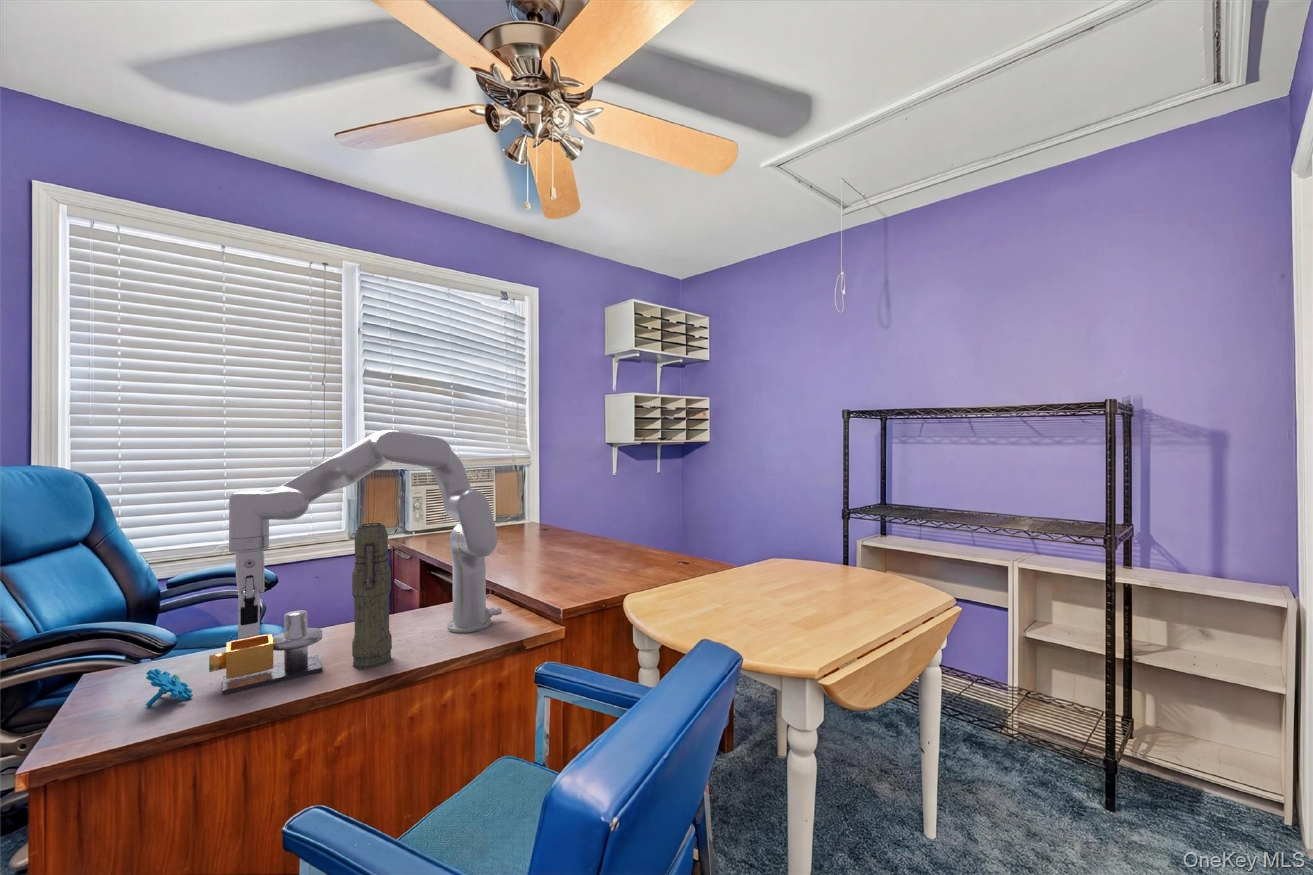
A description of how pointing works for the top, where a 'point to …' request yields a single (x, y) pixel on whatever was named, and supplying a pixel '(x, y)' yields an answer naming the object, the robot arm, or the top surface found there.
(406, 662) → the top surface
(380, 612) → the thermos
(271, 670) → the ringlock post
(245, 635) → the tall grey block
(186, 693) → the blue splat shape
